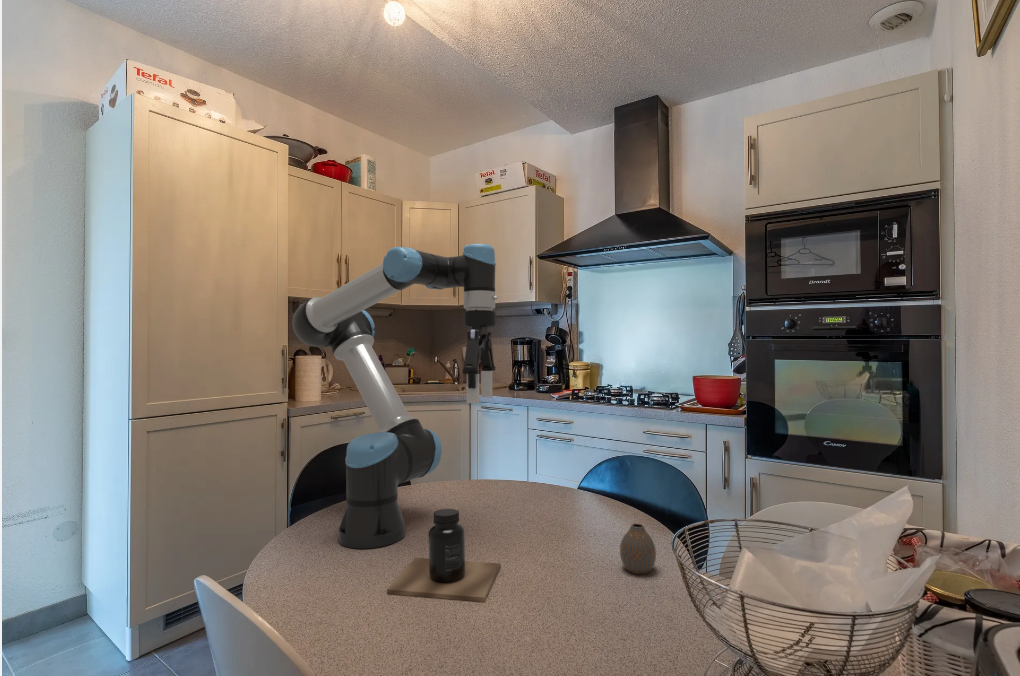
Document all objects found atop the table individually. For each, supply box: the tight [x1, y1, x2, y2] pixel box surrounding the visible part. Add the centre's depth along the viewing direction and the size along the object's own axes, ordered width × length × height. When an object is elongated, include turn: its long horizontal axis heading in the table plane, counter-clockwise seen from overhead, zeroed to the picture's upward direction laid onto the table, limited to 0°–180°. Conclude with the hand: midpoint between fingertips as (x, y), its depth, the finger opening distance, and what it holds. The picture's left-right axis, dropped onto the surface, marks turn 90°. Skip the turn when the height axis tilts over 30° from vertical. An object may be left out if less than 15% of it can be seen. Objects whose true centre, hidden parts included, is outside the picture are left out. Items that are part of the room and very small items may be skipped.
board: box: [386, 557, 502, 603], centre depth 96 cm, size 18×14×1 cm
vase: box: [619, 522, 657, 575], centre depth 100 cm, size 7×7×9 cm
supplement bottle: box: [428, 508, 466, 583], centre depth 96 cm, size 7×7×12 cm
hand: (480, 400), depth 120 cm, fingers open, 13 cm apart
